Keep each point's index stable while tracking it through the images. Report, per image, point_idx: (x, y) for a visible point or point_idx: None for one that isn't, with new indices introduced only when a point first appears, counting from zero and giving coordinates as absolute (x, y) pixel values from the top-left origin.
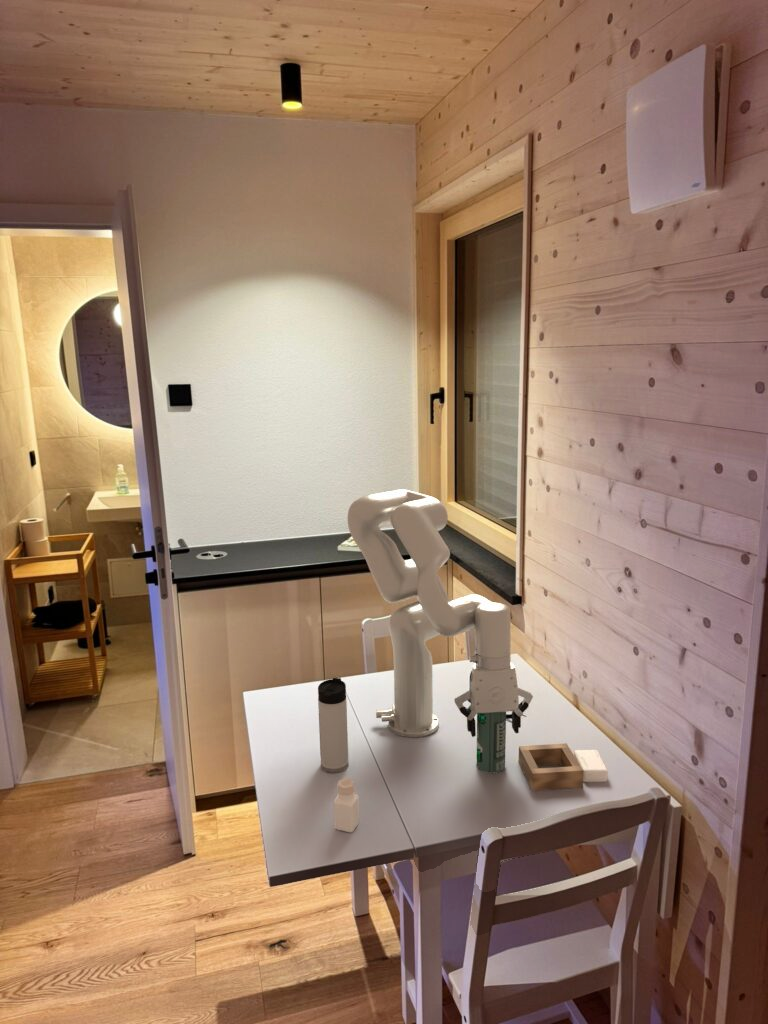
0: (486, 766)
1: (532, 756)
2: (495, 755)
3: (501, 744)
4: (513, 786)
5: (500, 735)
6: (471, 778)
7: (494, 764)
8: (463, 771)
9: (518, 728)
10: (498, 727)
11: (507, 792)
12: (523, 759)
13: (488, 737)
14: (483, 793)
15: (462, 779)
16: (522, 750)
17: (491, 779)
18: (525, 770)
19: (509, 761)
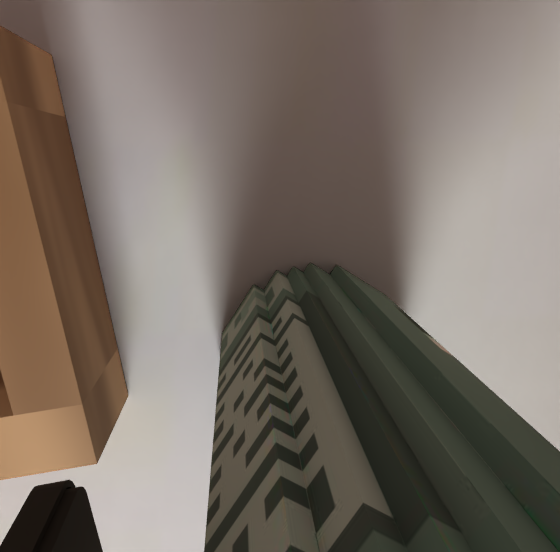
0: (359, 283)
1: (6, 392)
2: (312, 301)
3: (264, 361)
4: (183, 110)
5: (285, 417)
6: (452, 200)
7: (306, 283)
8: (491, 277)
9: (8, 531)
10: (347, 463)
11: (232, 33)
12: (74, 314)
13: (441, 370)
14: (398, 20)
15: (511, 187)
16: (68, 402)
17: (325, 192)
18: (77, 240)
19: (187, 402)
